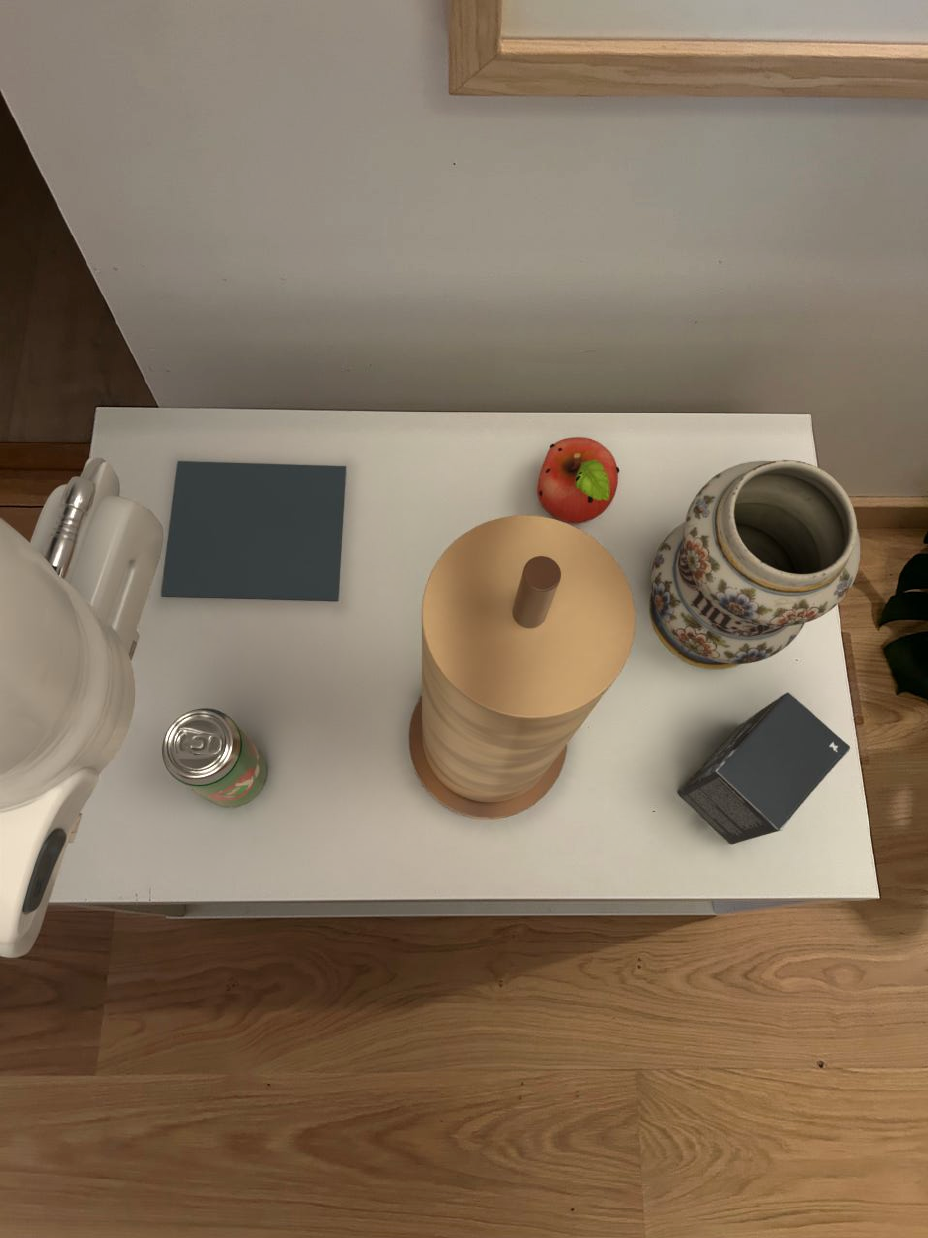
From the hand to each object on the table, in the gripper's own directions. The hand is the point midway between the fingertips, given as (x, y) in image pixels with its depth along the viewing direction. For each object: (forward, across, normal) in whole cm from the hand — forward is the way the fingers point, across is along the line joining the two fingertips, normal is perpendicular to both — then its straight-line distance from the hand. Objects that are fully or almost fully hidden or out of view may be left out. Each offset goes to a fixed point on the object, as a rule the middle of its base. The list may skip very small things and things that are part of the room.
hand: (92, 732), depth 48 cm
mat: (+24, -20, +1) cm, 32 cm away
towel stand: (+21, -7, +23) cm, 32 cm away
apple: (+22, -28, +26) cm, 44 cm away
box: (+19, -8, +42) cm, 47 cm away
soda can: (+23, 0, +5) cm, 23 cm away
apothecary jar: (+20, -22, +39) cm, 49 cm away
